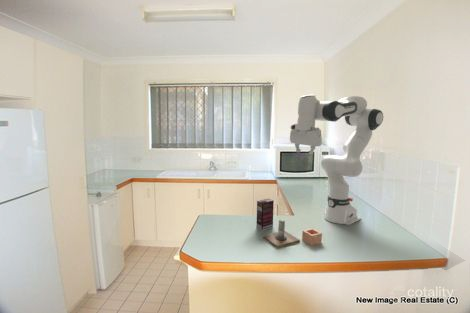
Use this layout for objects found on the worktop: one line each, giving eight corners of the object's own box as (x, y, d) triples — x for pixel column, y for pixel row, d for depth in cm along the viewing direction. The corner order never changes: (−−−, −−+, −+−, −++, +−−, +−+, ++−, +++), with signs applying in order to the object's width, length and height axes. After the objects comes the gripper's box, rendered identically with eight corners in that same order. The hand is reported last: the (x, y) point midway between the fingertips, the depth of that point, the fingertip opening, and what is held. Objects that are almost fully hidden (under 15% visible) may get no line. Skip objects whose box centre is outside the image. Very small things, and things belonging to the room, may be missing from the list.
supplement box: (267, 224, 155) (268, 198, 152) (273, 227, 151) (274, 200, 149) (255, 228, 150) (256, 200, 147) (261, 231, 146) (262, 203, 144)
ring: (311, 237, 140) (312, 228, 139) (321, 242, 134) (322, 233, 133) (302, 240, 137) (302, 230, 136) (311, 245, 131) (312, 235, 130)
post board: (284, 232, 145) (285, 214, 143) (299, 242, 134) (300, 222, 133) (262, 238, 138) (263, 219, 136) (277, 248, 128) (277, 227, 126)
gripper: (325, 127, 132) (323, 155, 134) (297, 125, 149) (296, 150, 152) (316, 127, 129) (314, 156, 131) (288, 125, 147) (287, 151, 149)
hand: (304, 153), depth 141 cm, fingers open, 8 cm apart
